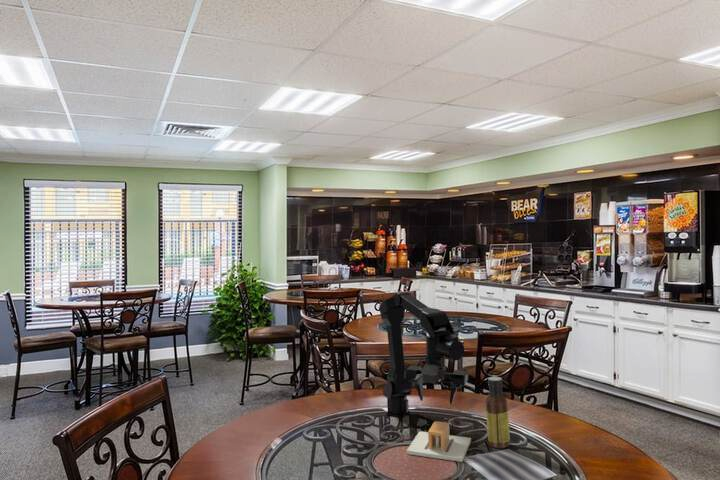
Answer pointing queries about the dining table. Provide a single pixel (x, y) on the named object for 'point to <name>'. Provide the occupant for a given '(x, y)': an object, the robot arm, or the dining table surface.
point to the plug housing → (439, 434)
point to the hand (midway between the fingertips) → (436, 402)
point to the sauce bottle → (497, 415)
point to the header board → (452, 451)
